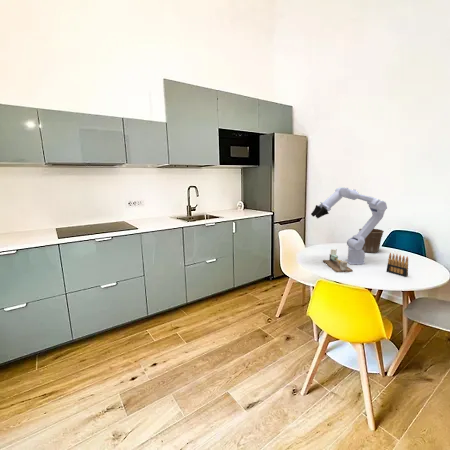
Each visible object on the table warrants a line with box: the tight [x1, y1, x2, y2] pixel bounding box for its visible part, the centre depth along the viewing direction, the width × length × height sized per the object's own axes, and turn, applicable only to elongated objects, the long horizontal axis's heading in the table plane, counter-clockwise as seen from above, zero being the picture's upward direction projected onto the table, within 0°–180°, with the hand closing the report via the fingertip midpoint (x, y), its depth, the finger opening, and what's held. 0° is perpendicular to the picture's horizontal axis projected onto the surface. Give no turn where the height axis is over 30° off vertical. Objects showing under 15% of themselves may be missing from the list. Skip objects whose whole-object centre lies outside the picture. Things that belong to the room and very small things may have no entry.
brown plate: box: [322, 253, 354, 273], centre depth 166 cm, size 10×20×6 cm, turn 2°
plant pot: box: [358, 228, 384, 254], centre depth 195 cm, size 16×16×16 cm
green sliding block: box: [330, 248, 339, 261], centre depth 169 cm, size 4×4×6 cm
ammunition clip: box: [385, 252, 409, 278], centre depth 150 cm, size 11×2×12 cm, turn 33°
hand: (314, 216), depth 166 cm, fingers open, 7 cm apart
